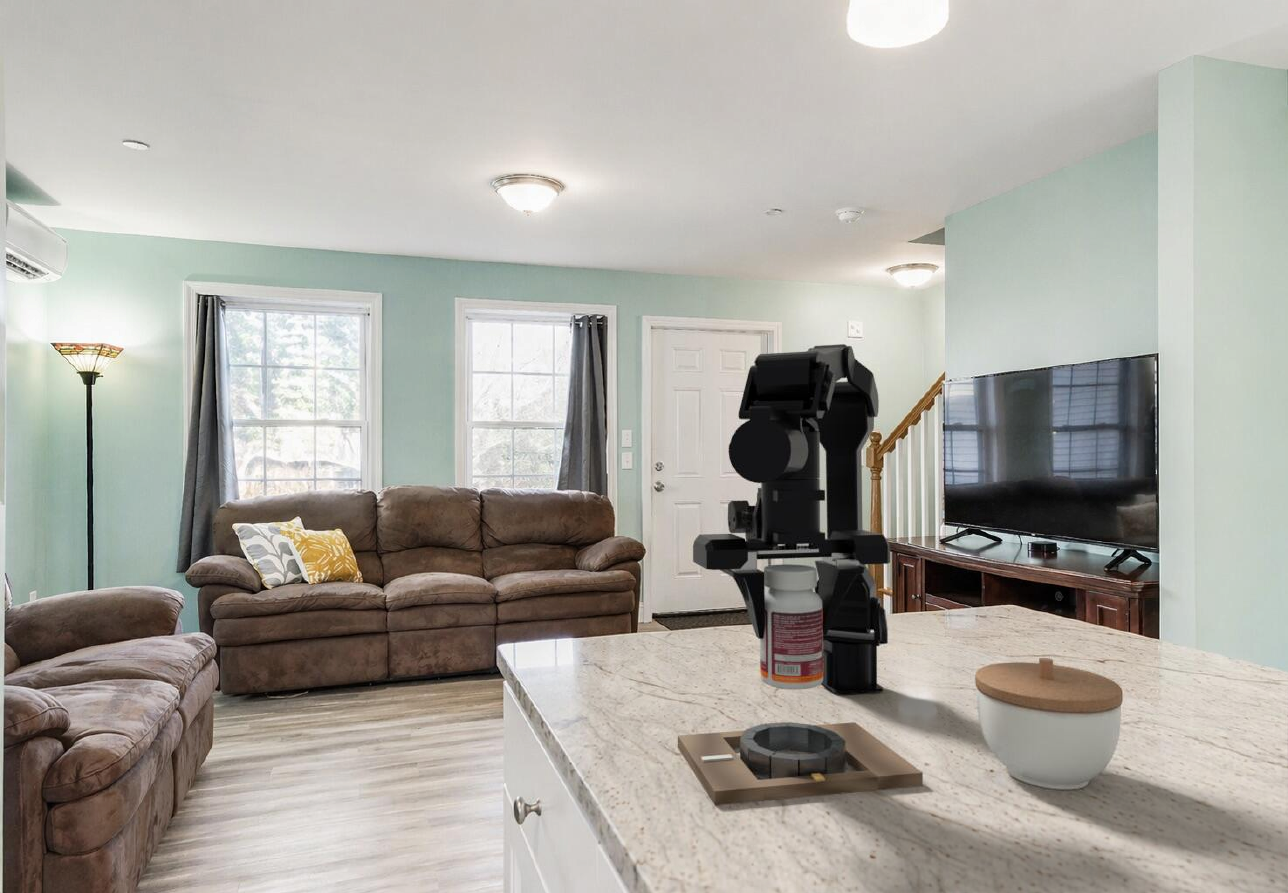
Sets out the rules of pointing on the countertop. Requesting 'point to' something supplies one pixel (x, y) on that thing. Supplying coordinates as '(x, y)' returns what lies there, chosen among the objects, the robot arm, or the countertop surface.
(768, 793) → the socket board
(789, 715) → the countertop surface
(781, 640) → the pill bottle
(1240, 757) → the countertop surface
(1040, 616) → the countertop surface
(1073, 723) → the lidded bowl
